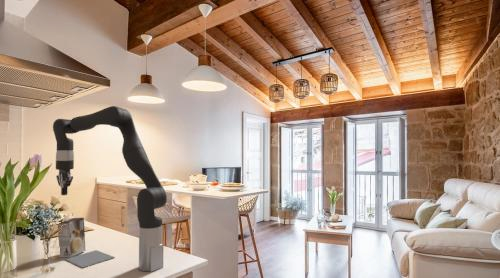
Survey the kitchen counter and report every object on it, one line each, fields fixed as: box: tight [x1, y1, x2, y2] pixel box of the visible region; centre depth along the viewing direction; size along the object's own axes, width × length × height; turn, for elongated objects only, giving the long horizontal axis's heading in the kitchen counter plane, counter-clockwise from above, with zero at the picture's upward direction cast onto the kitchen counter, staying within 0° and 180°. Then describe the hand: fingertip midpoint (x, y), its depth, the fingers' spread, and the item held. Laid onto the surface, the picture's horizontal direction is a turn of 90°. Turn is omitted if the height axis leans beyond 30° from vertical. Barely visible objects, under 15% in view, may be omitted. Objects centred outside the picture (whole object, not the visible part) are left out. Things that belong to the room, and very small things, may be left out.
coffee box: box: [57, 217, 87, 259], centre depth 138 cm, size 9×6×16 cm
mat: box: [64, 249, 115, 269], centre depth 133 cm, size 16×14×1 cm
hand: (64, 194), depth 145 cm, fingers closed
